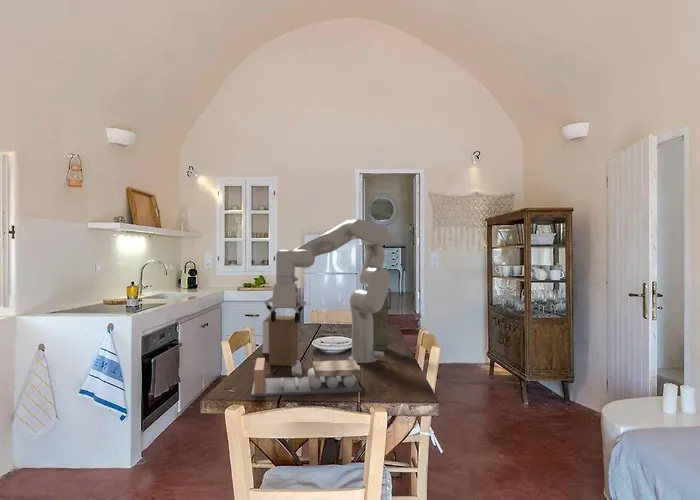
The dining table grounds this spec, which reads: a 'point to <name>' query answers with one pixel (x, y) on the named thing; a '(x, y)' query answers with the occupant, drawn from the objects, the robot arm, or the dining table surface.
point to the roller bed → (300, 383)
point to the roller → (296, 368)
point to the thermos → (381, 326)
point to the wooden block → (283, 341)
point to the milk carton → (266, 334)
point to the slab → (335, 368)
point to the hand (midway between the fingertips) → (285, 322)
